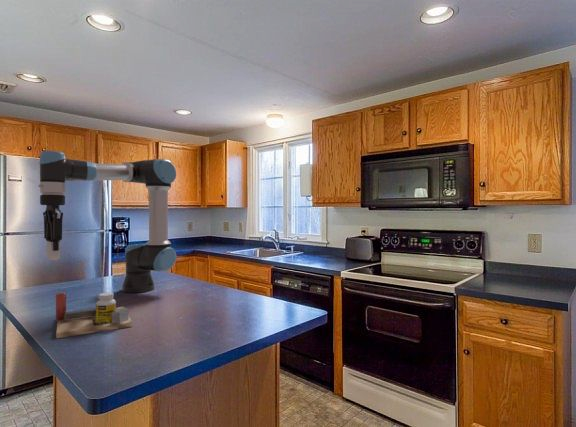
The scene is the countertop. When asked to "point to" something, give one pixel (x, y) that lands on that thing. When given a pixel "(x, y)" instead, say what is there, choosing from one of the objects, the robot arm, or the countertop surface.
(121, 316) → the grey angular block
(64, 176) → the robot arm
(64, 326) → the tan flat square sheet
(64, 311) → the lever
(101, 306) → the pill bottle
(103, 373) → the countertop surface
